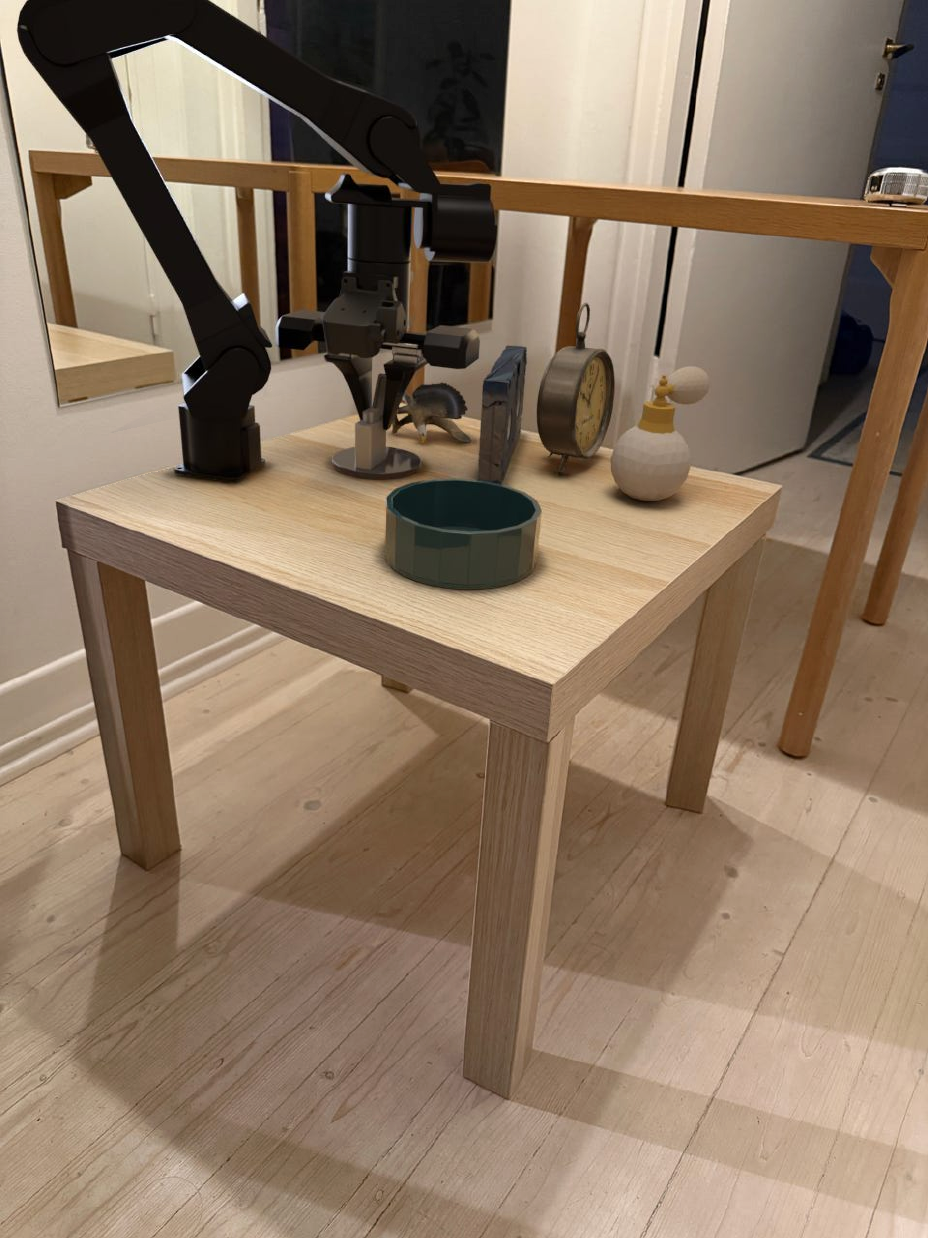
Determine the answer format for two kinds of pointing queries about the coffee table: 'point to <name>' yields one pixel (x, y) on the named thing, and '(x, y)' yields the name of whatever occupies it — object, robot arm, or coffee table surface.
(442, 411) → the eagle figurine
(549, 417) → the alarm clock
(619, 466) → the perfume bottle
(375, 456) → the lighter
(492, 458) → the vhs cassette tape
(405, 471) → the coaster
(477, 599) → the coffee table surface
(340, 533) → the coffee table surface
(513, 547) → the shallow faceted bowl
